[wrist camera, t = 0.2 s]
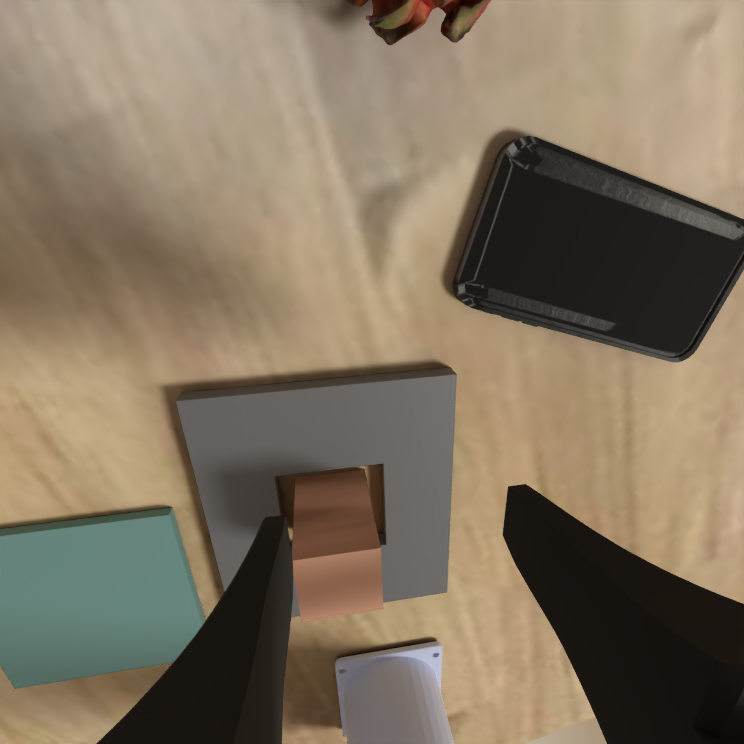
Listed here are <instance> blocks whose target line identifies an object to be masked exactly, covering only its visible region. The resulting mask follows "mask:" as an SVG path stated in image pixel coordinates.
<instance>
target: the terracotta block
mask: <svg viewBox="0 0 744 744" xmlns="http://www.w3.org/2000/svg"><path fill="white" fill-rule="evenodd" d="M292 560H293V573H294V579H295V585H296V592H297V598H298V604H299V611H300V617H301V622H307V621H313V620H319V619H326V618H332V617H338V616H344V615H350V614H357V613H363V612H369V611H375V610H381V609H383V588H382V564H381V547H380V542H379V537H378V532H377V527H376V523H375V518H374V513H373V508H372V503H371V499H370V494H369V489H368V484H367V479H366V475H365V470H364V469H361V470H353V471H345V472H336V473H328V474H320V475H311V476H303V477H296V478H295V499H294V521H293V542H292Z"/></svg>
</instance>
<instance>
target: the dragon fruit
mask: <svg viewBox="0 0 744 744" xmlns="http://www.w3.org/2000/svg"><path fill="white" fill-rule="evenodd" d="M346 1H348V2H349V3H351V4H352V5H353V6H355V7H361V6H363V5H364V4H365V3H366V2H367V1H368V0H346ZM490 1H491V0H372V2H373V15H372V16H366V19H369V21H370V23H369V25H370V26H371V27H372V28H373V29H374V31H375V33H376V34H377V35H378V36H380V37H381V38H383V39H384V40H385V42H386V43H387V44H388V45H392V44H394V43H396V42H397V41H399V40H400V39H402V38H403V37H405V36H407V35H409V34H411V33H412V32H414V31H416V30H417V29H419V28H420V27H421V26H422V25H423V24H424V23H425V22H426V20H427V18H428V16H429V14H430V12H431V11H432V10H433V9H434V8H436V7H439V8H440V9H442V10H443V11H444V12H445V13H446V17H445V19H444V21H443V22H442V25H441V32H442V34H443V35H444V36H445V37H447V38H448V39H449V40H450V41H451V42H456V43H457V42H458V41H459V40H460V39H462V38H463V36H464V35H465V34H466V33H467V32H469V31H470V29H471V28H472V26H473V25H474V23H475V22H476V21H477V19H478V18H479V17H480V16H481V14H482V13H483V12H484V10H485V9H486V7H487V5H488V4H489V2H490Z"/></svg>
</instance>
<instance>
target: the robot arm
mask: <svg viewBox="0 0 744 744" xmlns="http://www.w3.org/2000/svg"><path fill="white" fill-rule="evenodd" d="M503 537H504V539H505V541H506V544H507V546H508V549H509V551H510V553H511V555H512V558H513V560H514V562H515V564H516V566H517V568H518V570H519V571H520V573H521V575H522V577H523V578H524V580H525V582H526V583H527V585H528V587H529V589H530V590H531V592H532V594H533V595H534V597H535V599H536V600H537V602H538V604H539V605H540V607H541V609H542V611H543V612H544V614H545V616H546V617H547V619H548V621H549V622H550V624H551V626H552V627H553V629H554V631H555V633H556V634H557V636H558V638H559V640H560V642H561V644H562V645H563V647H564V649H565V651H566V654H567V656H568V658H569V660H570V662H571V664H572V666H573V668H574V670H575V672H576V675H577V677H578V679H579V681H580V683H581V685H582V687H583V690H584V692H585V694H586V696H587V699H588V701H589V703H590V705H591V707H592V710H593V712H594V714H595V716H596V718H597V721H598V723H599V725H600V728H601V730H602V733H603V735H604V737H605V740H606V742H607V744H744V604H742V603H740V602H737V601H735V600H732V599H729V598H727V597H724V596H722V595H719V594H717V593H714V592H712V591H709V590H707V589H705V588H702V587H700V586H698V585H695V584H693V583H691V582H689V581H687V580H684V579H682V578H680V577H678V576H676V575H673V574H671V573H669V572H667V571H665V570H663V569H661V568H659V567H657V566H655V565H653V564H651V563H649V562H647V561H646V560H644V559H642V558H640V557H638V556H636V555H634V554H632V553H631V552H629V551H627V550H625V549H624V548H622V547H620V546H618V545H617V544H615V543H613V542H612V541H610V540H608V539H607V538H605V537H604V536H602V535H600V534H599V533H597V532H595V531H594V530H592V529H591V528H589V527H588V526H586V525H585V524H583V523H582V522H580V521H579V520H577V519H576V518H574V517H573V516H571V515H570V514H568V513H567V512H565V511H564V510H562V509H561V508H560V507H558V506H557V505H555V504H554V503H552V502H551V501H550V500H548V499H547V498H545V497H544V496H542V495H541V494H540V493H538V492H537V491H535V490H534V489H532V488H531V487H529V486H528V485H526V484H524V485H516V486H508V492H507V501H506V510H505V519H504V528H503ZM292 602H293V560H292V554H291V547H290V540H289V534H288V527H287V520H286V515H280V516H272V517H265V519H264V520H263V521H262V523H261V525H260V528H259V530H258V532H257V534H256V537H255V539H254V541H253V543H252V545H251V547H250V549H249V551H248V553H247V555H246V556H245V558H244V560H243V562H242V564H241V566H240V567H239V569H238V571H237V573H236V575H235V576H234V578H233V580H232V581H231V583H230V584H229V586H228V588H227V589H226V591H225V592H224V594H223V596H222V597H221V599H220V600H219V602H218V604H217V605H216V607H215V608H214V610H213V611H212V613H211V614H210V615H209V617H208V618H207V620H206V621H205V623H204V624H203V625H202V627H201V628H200V629H199V631H198V632H197V633H196V635H195V636H194V637H193V639H192V640H191V641H190V642H189V644H188V645H187V646H186V648H185V649H184V650H183V651H182V653H181V654H180V655H179V656H178V658H177V659H176V660H175V661H174V662H173V664H172V665H171V666H170V667H169V668H168V670H167V671H166V672H165V673H164V674H163V675H162V676H161V678H160V679H159V680H158V681H157V682H156V683H155V684H154V685H153V686H152V687H151V689H150V690H149V691H148V692H147V693H146V694H145V695H144V696H143V697H142V698H141V699H140V701H139V702H138V703H137V704H136V705H135V706H134V707H133V708H132V709H131V710H130V711H129V712H128V713H127V714H126V715H125V716H124V717H123V718H122V719H121V720H120V721H119V722H118V723H117V724H116V725H115V726H114V727H113V728H112V729H111V730H110V731H109V732H108V733H107V734H106V735H105V736H104V737H103V738H102V739H101V740H100V741H99V742H98V743H97V744H282V710H283V688H284V676H285V667H286V658H287V649H288V640H289V631H290V621H291V612H292ZM441 669H442V646H441V643H440V642H437V641H434V642H429V643H423V644H417V645H411V646H405V647H400V648H394V649H388V650H382V651H376V652H371V653H365V654H359V655H353V656H347V657H342V658H339V659H337V660H336V661H335V671H336V680H337V688H338V696H339V705H340V713H341V722H342V730H343V736H344V737H345V738H347V744H454V741H453V737H452V734H451V730H450V726H449V722H448V719H447V715H446V711H445V708H444V704H443V700H442V696H441Z"/></svg>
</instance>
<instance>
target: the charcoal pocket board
mask: <svg viewBox="0 0 744 744" xmlns="http://www.w3.org/2000/svg"><path fill="white" fill-rule="evenodd" d="M456 377H457V374H456V373H455V372H454V371H453V370H452V368H451V367H448V368H438V369H427V370H416V371H406V372H395V373H384V374H374V375H363V376H352V377H342V378H331V379H320V380H309V381H299V382H288V383H277V384H267V385H256V386H245V387H235V388H224V389H213V390H203V391H192V392H182V393H181V394H180V396H179V397H178V399H177V400H176V404H177V408H178V412H179V416H180V420H181V424H182V428H183V432H184V436H185V440H186V443H187V447H188V451H189V455H190V459H191V463H192V467H193V471H194V475H195V479H196V483H197V487H198V490H199V494H200V498H201V502H202V506H203V510H204V514H205V518H206V522H207V526H208V530H209V534H210V537H211V541H212V545H213V549H214V553H215V557H216V561H217V565H218V569H219V573H220V577H221V581H222V584H223V588H224V592H225V591H226V589H227V588H228V586H229V584H230V583H231V581H232V580H233V578H234V576H235V575H236V573H237V571H238V569H239V567H240V566H241V564H242V562H243V560H244V558H245V556H246V555H247V553H248V551H249V549H250V547H251V545H252V543H253V541H254V539H255V537H256V534H257V532H258V530H259V528H260V525H261V523H262V521H263V520H264V519H265V517H272V516H280V515H283V509H282V503H281V497H280V490H279V484H278V478H277V476H282V475H291V474H299V473H307V472H316V471H324V470H333V469H341V468H349V467H358V466H366V465H375V464H381V473H382V499H383V526H384V533H378V537H379V542H380V547H381V564H382V588H383V602H390V601H396V600H402V599H409V598H415V597H421V596H427V595H434V594H440V593H446V592H447V580H448V558H449V535H450V513H451V490H452V468H453V445H454V423H455V400H456ZM290 547H291V554H292V545H291V546H290ZM295 616H300V611H299V604H298V598H297V592H296V585H295V579H294V573H293V602H292V612H291V617H295Z"/></svg>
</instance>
